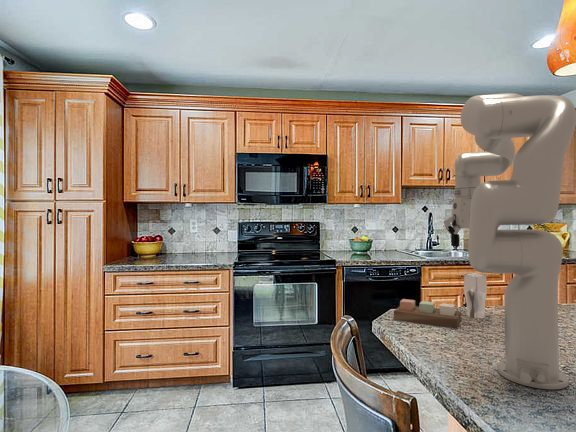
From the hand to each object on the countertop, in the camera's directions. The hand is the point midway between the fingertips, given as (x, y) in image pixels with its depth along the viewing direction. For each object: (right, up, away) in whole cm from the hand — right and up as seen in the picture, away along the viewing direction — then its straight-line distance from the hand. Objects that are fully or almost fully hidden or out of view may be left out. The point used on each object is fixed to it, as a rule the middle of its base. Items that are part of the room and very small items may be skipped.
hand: (468, 245), depth 117 cm
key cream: (-9, -22, -4) cm, 24 cm away
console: (-14, -25, -1) cm, 29 cm away
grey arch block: (+4, -25, +4) cm, 26 cm away
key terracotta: (-19, -22, +2) cm, 29 cm away
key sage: (-14, -22, -1) cm, 26 cm away
